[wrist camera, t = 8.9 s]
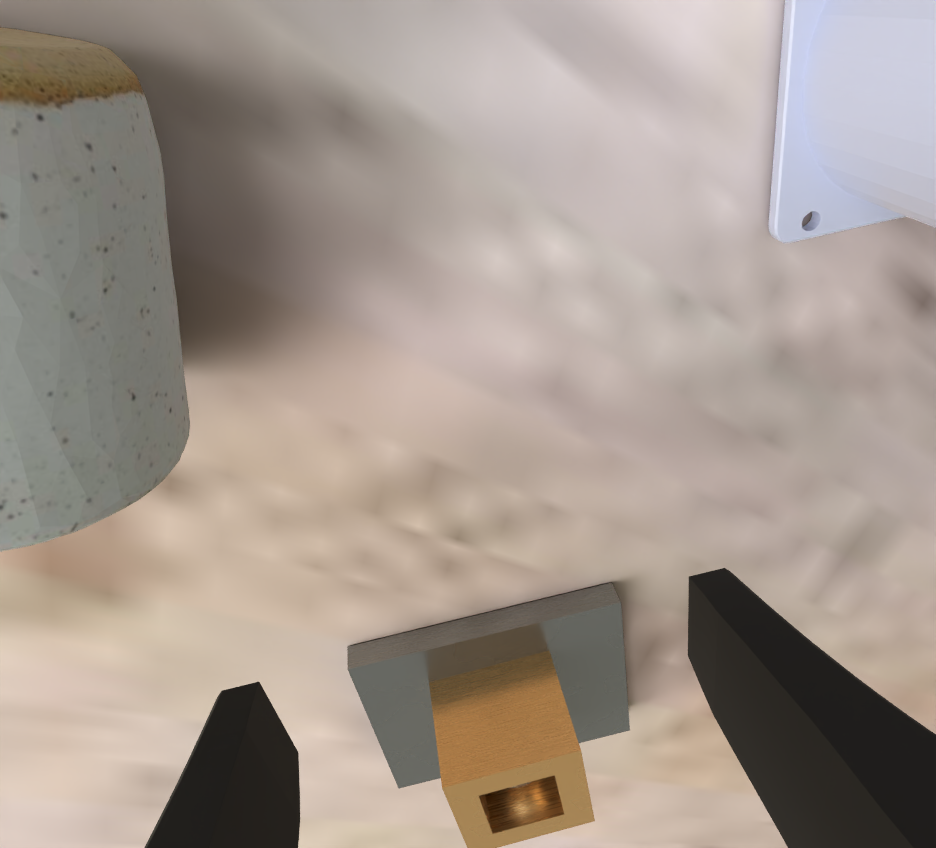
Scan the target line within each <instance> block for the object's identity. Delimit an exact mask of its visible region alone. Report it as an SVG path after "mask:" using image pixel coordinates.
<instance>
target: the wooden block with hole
mask: <svg viewBox="0 0 936 848" xmlns="http://www.w3.org/2000/svg"><path fill="white" fill-rule="evenodd" d="M429 687H430V695H431V703H432V711H433V719H434V727H435V735H436V743H437V750H438V758H439V766H440V774H441V782H442V789H443V791H444V793H445V796H446V798H447V800H448V803H449V805H450V808H451V810H452V812H453V815H454V817H455V819H456V822H457V824H458V826H459V829H460V831H461V834H462V836H463V838H464V841H465V843H466V845H467V848H497V847H501V846H505V845H508V844H512V843H516V842H519V841H523V840H527V839H530V838H534V837H538V836H541V835H545V834H549V833H552V832H556V831H560V830H563V829H567V828H571V827H574V826H578V825H582V824H585V823H589V822H593V821H595V820H594V815H593V810H592V805H591V799H590V794H589V789H588V784H587V779H586V774H585V769H584V764H583V759H582V754H581V749H580V746H579V743H578V740H577V737H576V733H575V730H574V727H573V724H572V721H571V718H570V714H569V711H568V708H567V705H566V702H565V699H564V695H563V692H562V689H561V686H560V683H559V680H558V676H557V673H556V670H555V667H554V664H553V661H552V657H551V654H550V651H545V652H541V653H538V654H534V655H530V656H526V657H523V658H519V659H515V660H511V661H508V662H504V663H500V664H496V665H493V666H489V667H485V668H481V669H478V670H474V671H470V672H466V673H463V674H459V675H455V676H451V677H448V678H444V679H440V680H436V681H433V682H429ZM531 781H532V782H531ZM528 782H531V783H530V784H528V785H526V786H523V787H519V788H509V787H513V786H517V785H520V784H524V783H528Z"/></svg>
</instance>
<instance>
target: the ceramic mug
mask: <svg viewBox="0 0 936 848" xmlns="http://www.w3.org/2000/svg"><path fill="white" fill-rule="evenodd" d="M189 428H190V420H189V409H188V401H187V394H186V386H185V378H184V369H183V358H182V348H181V338H180V328H179V318H178V307H177V299H176V291H175V284H174V277H173V270H172V263H171V253H170V243H169V233H168V223H167V211H166V196H165V181H164V173H163V166H162V159H161V152H160V148H159V145H158V141H157V137H156V133H155V130H154V126H153V122H152V118H151V115H150V111H149V107H148V103H147V100H146V97H145V95H144V92H143V90H142V88H141V85H140V83H139V80H138V78H137V76H136V75H135V74H134V73H133V72H132V71H131V70H130V69H129V68H128V66H127V65H126V64H125V63H124V62H123V61H122V60H121V59H120V58H119V57H117V56H116V55H115V54H114V53H113V52H112V51H111V50H110V49H108V48H105V47H103V46H100V45H97V44H94V43H90V42H86V41H81V40H76V39H71V38H65V37H59V36H54V35H48V34H42V33H35V32H29V31H23V30H17V29H10V28H2V27H0V552H1V551H6V550H11V549H16V548H21V547H26V546H31V545H35V544H39V543H42V542H46V541H49V540H52V539H55V538H58V537H60V536H63V535H67V534H71V533H73V532H76V531H78V530H80V529H83V528H85V527H87V526H89V525H92V524H94V523H96V522H98V521H100V520H102V519H104V518H106V517H108V516H110V515H112V514H114V513H116V512H118V511H120V510H122V509H123V508H125V507H127V506H129V505H130V504H132V503H134V502H136V501H137V500H139V499H141V498H142V497H143V496H144V495H146V494H147V493H148V492H150V491H151V490H152V489H154V488H155V487H156V486H157V485H158V484H159V483H160V482H162V481H163V480H164V479H165V477H166V476H167V475H168V474H169V473H170V472H171V470H172V469H173V468H174V467H175V465H176V464H177V463H178V461H179V460H180V457H181V455H182V452H183V451H184V448H185V445H186V442H187V440H188V437H189Z"/></svg>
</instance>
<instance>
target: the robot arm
mask: <svg viewBox="0 0 936 848" xmlns="http://www.w3.org/2000/svg"><path fill="white" fill-rule="evenodd" d="M810 212H812V217H811V220H810V221H809V223H808V224H807V225H805V226H803V227H802V221H803V218H804V217H805V216H806V215H807V214H808V213H810ZM903 217H909V218H912V219H914V220H917V221H919V222H922V223H924V224H927V225H929V226H932V227H934V228H936V0H785V9H784V22H783V36H782V49H781V63H780V77H779V90H778V104H777V117H776V131H775V145H774V158H773V172H772V185H771V199H770V212H769V232H770V234H771V235H772V237H773V238H775V239H777V240H779V241H781V242H783V243H792V242H797V241H801V240H806V239H810V238H814V237H819V236H823V235H828V234H832V233H837V232H841V231H845V230H850V229H854V228H859V227H863V226H867V225H872V224H876V223H881V222H885V221H889V220H894V219H898V218H903ZM688 657H689V659H690V662H691V664H692V666H693V669H694V671H695V673H696V676H697V678H698V681H699V683H700V685H701V688H702V690H703V692H704V695H705V697H706V699H707V701H708V704H709V706H710V708H711V710H712V713H713V715H714V717H715V719H716V720H717V722H718V724H719V726H720V728H721V729H722V731H723V733H724V735H725V737H726V738H727V740H728V742H729V744H730V746H731V747H732V749H733V751H734V753H735V754H736V756H737V758H738V760H739V762H740V763H741V765H742V767H743V769H744V770H745V772H746V774H747V776H748V777H749V779H750V781H751V783H752V785H753V786H754V788H755V790H756V792H757V793H758V795H759V797H760V799H761V800H762V802H763V804H764V806H765V807H766V809H767V811H768V813H769V815H770V816H771V818H772V820H773V822H774V823H775V825H776V827H777V829H778V830H779V832H780V834H781V836H782V837H783V839H784V841H785V843H786V845H787V846H788V848H936V734H934V733H933V732H931V731H930V730H928V729H927V728H925V727H924V726H923V725H921V724H920V723H918V722H917V721H915V720H914V719H913V718H911V717H910V716H908V715H907V714H906V713H904V712H903V711H901V710H900V709H899V708H897V707H896V706H894V705H893V704H892V703H890V702H889V701H888V700H886V699H885V698H883V697H882V696H881V695H879V694H878V693H877V692H875V691H874V690H873V689H871V688H870V687H869V686H867V685H866V684H865V683H863V682H862V681H861V680H859V679H858V678H857V677H855V676H854V675H853V674H851V673H850V672H849V671H848V670H846V669H845V668H844V667H843V666H841V665H840V664H839V663H838V662H836V661H835V660H834V659H833V658H831V657H830V656H829V655H827V654H826V653H825V652H824V651H822V650H821V649H820V648H819V647H817V646H816V645H815V644H814V643H812V642H811V641H810V640H809V639H808V638H806V637H805V636H804V635H803V634H801V633H800V632H799V631H798V630H797V629H795V628H794V627H793V626H792V625H791V624H790V623H788V622H787V621H786V620H785V619H784V618H783V617H781V616H780V615H779V614H778V613H777V612H775V611H774V610H773V609H772V608H771V607H770V606H769V605H767V604H766V603H765V602H764V601H763V600H762V599H761V598H759V597H758V596H757V595H756V594H755V593H754V592H753V591H751V590H750V589H749V588H748V587H747V586H746V585H745V584H744V583H743V582H741V581H740V580H739V579H738V578H737V577H736V576H735V575H734V574H733V573H731V572H730V571H729V570H727V569H725V568H723V569H719V570H715V571H710V572H706V573H702V574H698V575H694V576H690V577H689V616H688ZM299 827H300V788H299V761H298V751H297V749H296V748H295V746H294V744H293V742H292V740H291V739H290V737H289V735H288V733H287V731H286V730H285V728H284V726H283V724H282V722H281V720H280V719H279V717H278V715H277V713H276V711H275V710H274V708H273V706H272V704H271V702H270V701H269V699H268V697H267V695H266V693H265V692H264V690H263V688H262V686H261V684H260V682H256V683H252V684H248V685H244V686H240V687H235V688H231V689H227V690H223V691H221V693H220V694H219V696H218V697H217V699H216V702H215V704H214V706H213V708H212V710H211V712H210V715H209V717H208V719H207V721H206V723H205V726H204V728H203V730H202V732H201V734H200V736H199V739H198V741H197V743H196V745H195V747H194V749H193V751H192V753H191V756H190V758H189V760H188V762H187V764H186V766H185V768H184V770H183V772H182V774H181V776H180V779H179V781H178V783H177V785H176V787H175V789H174V791H173V793H172V795H171V797H170V799H169V801H168V803H167V805H166V807H165V809H164V811H163V813H162V815H161V816H160V818H159V820H158V822H157V824H156V826H155V828H154V830H153V832H152V834H151V836H150V838H149V840H148V842H147V844H146V846H145V848H298V840H299Z"/></svg>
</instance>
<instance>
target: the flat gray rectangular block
mask: <svg viewBox="0 0 936 848" xmlns="http://www.w3.org/2000/svg"><path fill="white" fill-rule="evenodd" d="M545 651H550V654H551V657H552V661H553V664H554V667H555V670H556V673H557V676H558V680H559V683H560V686H561V689H562V692H563V695H564V699H565V702H566V705H567V708H568V711H569V714H570V718H571V721H572V724H573V727H574V730H575V733H576V737H577V740H578V743H581V742H585V741H589V740H593V739H597V738H601V737H605V736H609V735H613V734H617V733H621V732H625V731H629V730H630V726H629V712H628V697H627V683H626V668H625V654H624V639H623V625H622V610H621V602H620V599H619V597H618V595H617V593H616V591H615V588H614V586H613V584H612V582H611V583H607V584H603V585H599V586H595V587H591V588H587V589H583V590H579V591H574V592H570V593H566V594H562V595H558V596H554V597H550V598H546V599H542V600H537V601H533V602H529V603H525V604H521V605H517V606H513V607H509V608H505V609H500V610H496V611H492V612H488V613H484V614H480V615H476V616H472V617H468V618H464V619H459V620H455V621H451V622H447V623H443V624H439V625H435V626H431V627H427V628H422V629H418V630H414V631H410V632H406V633H402V634H398V635H394V636H390V637H385V638H381V639H377V640H373V641H369V642H365V643H361V644H357V645H353V646H348V671H349V673H350V676H351V678H352V680H353V683H354V685H355V687H356V690H357V692H358V694H359V697H360V699H361V701H362V704H363V706H364V708H365V711H366V713H367V715H368V718H369V720H370V722H371V725H372V727H373V729H374V732H375V734H376V736H377V739H378V741H379V743H380V746H381V748H382V750H383V753H384V755H385V757H386V760H387V762H388V764H389V767H390V769H391V771H392V774H393V776H394V778H395V781H396V783H397V785H398V788H402V787H406V786H410V785H414V784H418V783H422V782H426V781H430V780H434V779H438V778H441V774H440V766H439V758H438V750H437V743H436V735H435V727H434V719H433V711H432V703H431V695H430V687H429V682H433V681H436V680H440V679H444V678H448V677H451V676H455V675H459V674H463V673H466V672H470V671H474V670H478V669H481V668H485V667H489V666H493V665H496V664H500V663H504V662H508V661H511V660H515V659H519V658H523V657H526V656H530V655H534V654H538V653H541V652H545ZM531 782H532V781H531ZM531 782H528V783H524V784H520V785H517V786H513V787H509V788H519V787H523V786H526V785H528V784H530V783H531Z"/></svg>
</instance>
